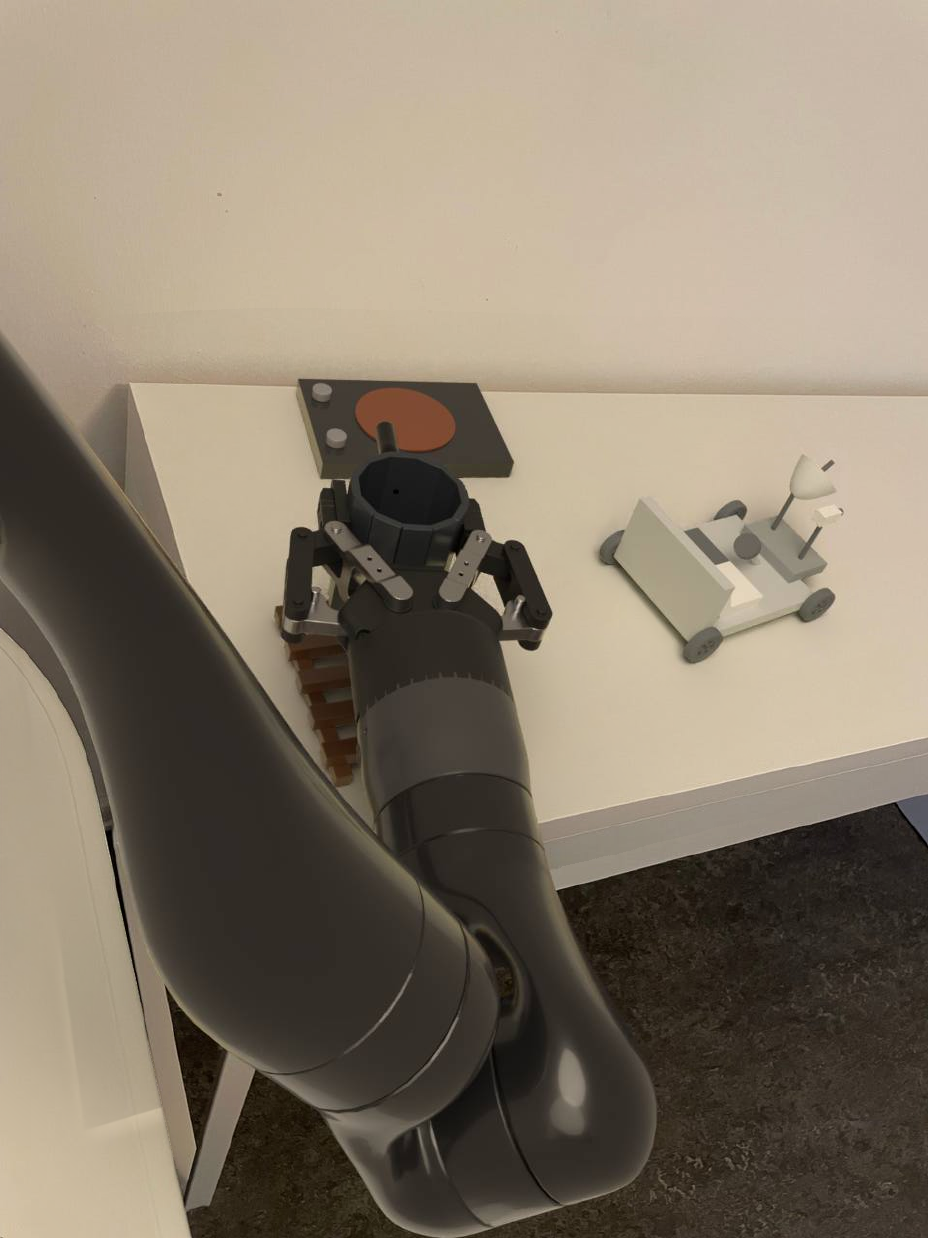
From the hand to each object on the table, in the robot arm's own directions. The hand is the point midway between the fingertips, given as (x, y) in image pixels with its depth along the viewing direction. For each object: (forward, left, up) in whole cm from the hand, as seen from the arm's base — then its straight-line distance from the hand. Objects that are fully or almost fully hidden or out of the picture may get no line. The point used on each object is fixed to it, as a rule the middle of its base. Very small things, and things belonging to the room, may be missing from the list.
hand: (396, 496), depth 59 cm
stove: (-15, +20, -14) cm, 29 cm away
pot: (0, 0, -7) cm, 7 cm away
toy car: (+13, +28, -15) cm, 34 cm away
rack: (+2, -2, -14) cm, 15 cm away
